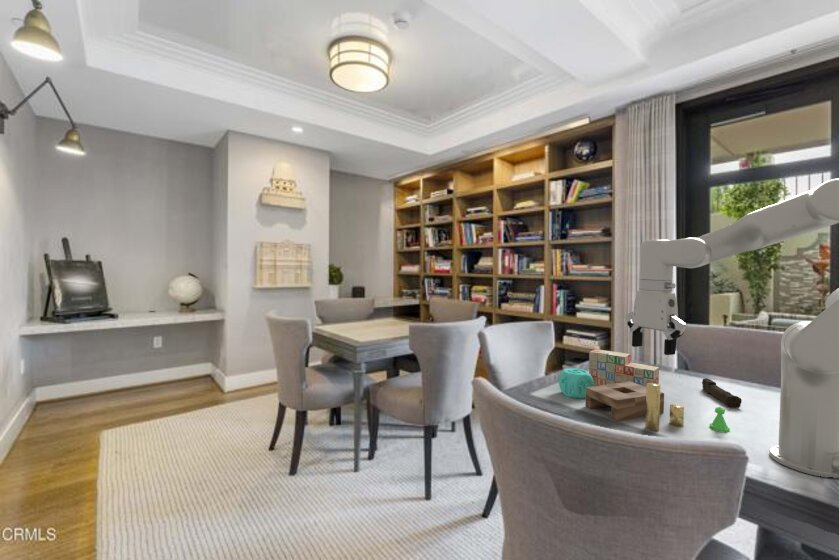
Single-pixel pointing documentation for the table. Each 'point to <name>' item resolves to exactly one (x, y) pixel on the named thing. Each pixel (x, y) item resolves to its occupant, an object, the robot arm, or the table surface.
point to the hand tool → (721, 394)
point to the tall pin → (652, 406)
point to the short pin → (676, 415)
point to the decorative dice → (575, 382)
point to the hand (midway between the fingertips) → (652, 350)
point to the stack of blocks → (619, 369)
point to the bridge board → (620, 399)
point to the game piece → (719, 421)
